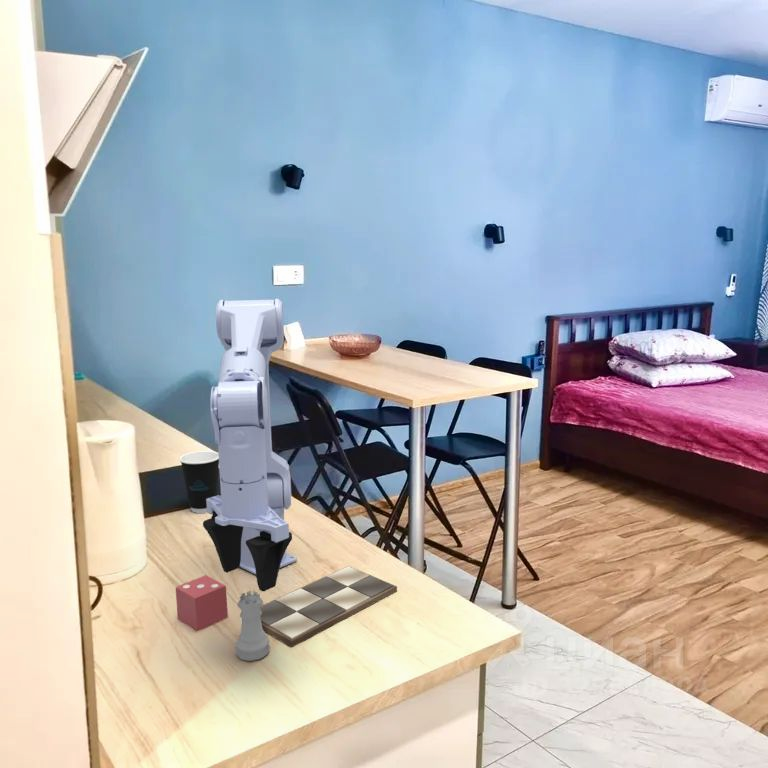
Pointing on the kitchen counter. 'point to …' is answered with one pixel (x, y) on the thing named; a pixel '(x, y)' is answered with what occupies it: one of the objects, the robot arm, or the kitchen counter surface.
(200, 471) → the dixie cup
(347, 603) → the game board
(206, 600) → the die
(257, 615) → the rook chess piece
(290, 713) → the kitchen counter surface
